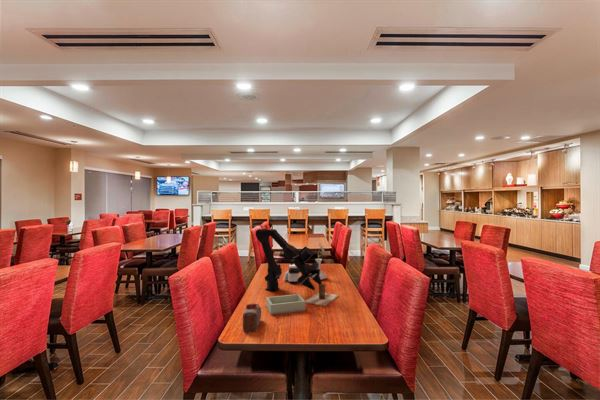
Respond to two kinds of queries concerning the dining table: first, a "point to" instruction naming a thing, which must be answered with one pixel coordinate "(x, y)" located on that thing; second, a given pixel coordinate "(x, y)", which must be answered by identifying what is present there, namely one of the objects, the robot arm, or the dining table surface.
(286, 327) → the dining table surface
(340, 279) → the dining table surface
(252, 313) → the food item
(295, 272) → the spread jar
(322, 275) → the flower in vase
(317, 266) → the robot arm
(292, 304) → the grey rectangular tray
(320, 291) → the lid
